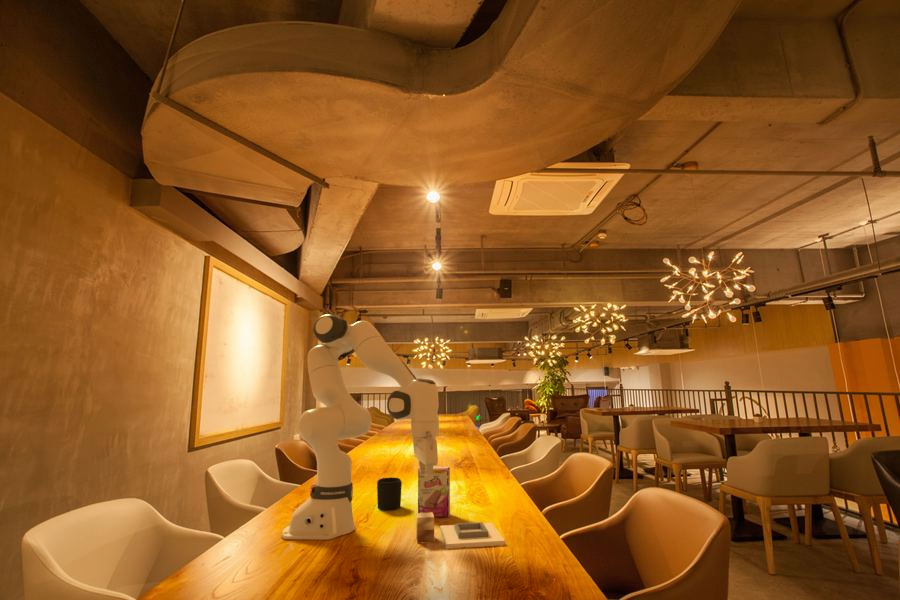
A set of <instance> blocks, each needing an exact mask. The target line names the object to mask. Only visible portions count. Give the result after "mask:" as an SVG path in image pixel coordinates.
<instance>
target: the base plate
mask: <svg viewBox="0 0 900 600" xmlns="http://www.w3.org/2000/svg"><path fill="white" fill-rule="evenodd" d="M439 528H440V534H441V536H442V539H443V542H444V544H445V548H446V549H447V548H450V549H464V548H463V547H466V548H478V547H494V546H495V547H498V546H506V540H505V539H504V537H503V536H502V534H501V533H500V532H499V530H498V529H497V528H496V526H495V525H494V524H493V522H485V523H484V522H482V521H480V522H477V521H476V522H464V523H462V522H461V523H460V522H459V523H453V524H448V525H447V524H446V525H439ZM497 545H498V546H497ZM461 547H462V548H461Z"/></svg>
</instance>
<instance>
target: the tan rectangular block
mask: <svg viewBox="0 0 900 600" xmlns="http://www.w3.org/2000/svg"><path fill="white" fill-rule="evenodd" d="M421 542H430V543H435V517H434V515H433V512H429V513H418V512H417V513H416V543H417V544H422V543H421Z"/></svg>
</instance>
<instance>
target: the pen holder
mask: <svg viewBox="0 0 900 600" xmlns="http://www.w3.org/2000/svg"><path fill="white" fill-rule="evenodd" d="M402 485H403V483H402V480H401V478H399V477H383V478H379V479H378V480H377V483H376V493H377V495H376V496H377V499H376V500H377V508H378V509H379V510H381V511H395V510H398V509H400V508H401V505H402V504H401V503H402Z"/></svg>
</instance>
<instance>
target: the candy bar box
mask: <svg viewBox="0 0 900 600" xmlns="http://www.w3.org/2000/svg"><path fill="white" fill-rule="evenodd" d="M450 469H451V467H450V466H433V473H432V480H426V478H425V477H426V476H425V475H421V474H420V467H418V470H417V472H418V473H417V474H418V475H417V513H429V512H433V515H434V518H443V519H444V518H447V519H448V518H449V516H450V514H451V490H450V489H451V486H450V485H451V479H450V478H451V477H450V476H451V470H450Z"/></svg>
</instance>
